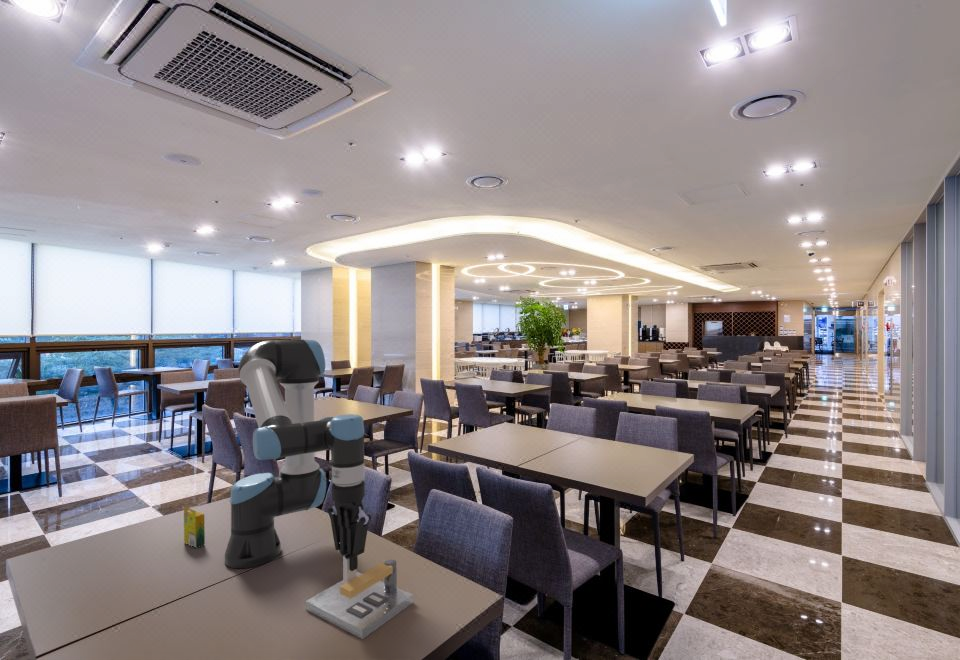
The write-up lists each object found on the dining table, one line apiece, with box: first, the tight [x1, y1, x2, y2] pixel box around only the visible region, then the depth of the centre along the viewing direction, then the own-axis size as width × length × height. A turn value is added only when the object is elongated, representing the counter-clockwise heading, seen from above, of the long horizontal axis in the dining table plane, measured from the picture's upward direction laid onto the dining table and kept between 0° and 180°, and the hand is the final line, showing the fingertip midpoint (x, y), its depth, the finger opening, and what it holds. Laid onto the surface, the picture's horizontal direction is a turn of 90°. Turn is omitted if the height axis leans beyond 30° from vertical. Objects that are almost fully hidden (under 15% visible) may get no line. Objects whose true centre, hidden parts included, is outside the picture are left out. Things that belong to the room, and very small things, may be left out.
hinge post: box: [384, 569, 398, 593], centre depth 114 cm, size 3×3×7 cm
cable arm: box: [340, 559, 397, 599], centre depth 109 cm, size 16×4×2 cm, turn 146°
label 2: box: [363, 592, 388, 607], centre depth 110 cm, size 5×4×1 cm
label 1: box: [346, 602, 373, 618], centre depth 106 cm, size 5×4×1 cm
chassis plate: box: [304, 571, 414, 640], centre depth 111 cm, size 20×16×2 cm
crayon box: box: [183, 506, 206, 548], centre depth 146 cm, size 7×3×12 cm, turn 58°
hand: (350, 582), depth 108 cm, fingers closed
